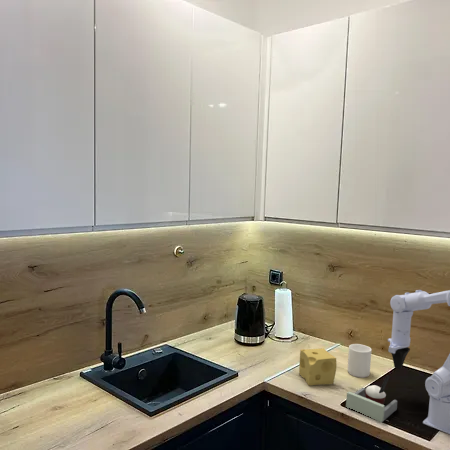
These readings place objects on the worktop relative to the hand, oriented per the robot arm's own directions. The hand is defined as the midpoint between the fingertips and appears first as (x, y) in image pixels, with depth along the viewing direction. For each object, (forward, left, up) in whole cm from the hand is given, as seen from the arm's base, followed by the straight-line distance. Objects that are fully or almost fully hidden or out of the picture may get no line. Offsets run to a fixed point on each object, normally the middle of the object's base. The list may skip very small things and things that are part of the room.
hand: (398, 367), depth 147 cm
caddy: (+2, +14, -10) cm, 18 cm away
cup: (+19, -9, -11) cm, 24 cm away
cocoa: (+3, +11, -11) cm, 15 cm away
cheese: (+26, +9, -11) cm, 30 cm away
